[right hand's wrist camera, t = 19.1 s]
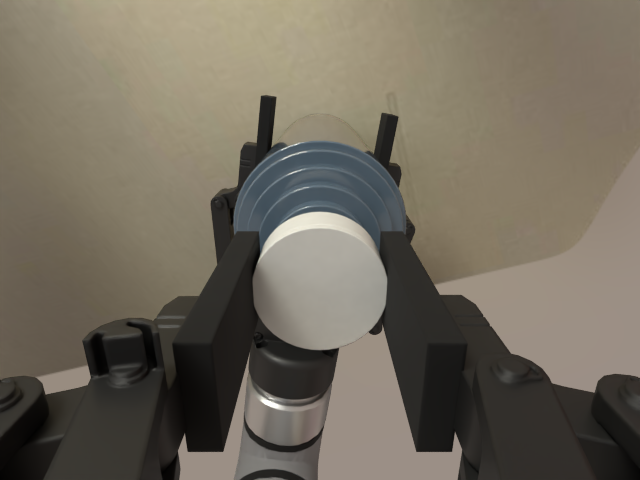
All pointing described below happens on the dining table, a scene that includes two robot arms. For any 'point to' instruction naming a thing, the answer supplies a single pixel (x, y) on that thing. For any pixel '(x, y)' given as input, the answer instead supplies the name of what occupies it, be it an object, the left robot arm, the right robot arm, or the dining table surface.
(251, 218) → the bottle
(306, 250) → the cap
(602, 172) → the dining table surface
